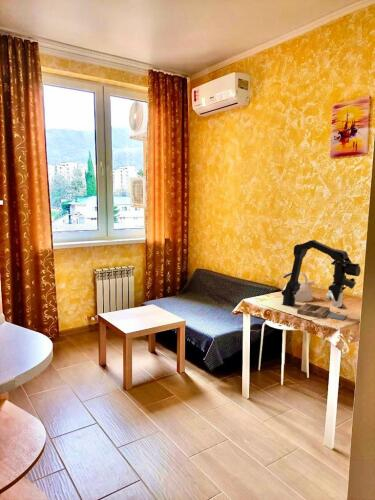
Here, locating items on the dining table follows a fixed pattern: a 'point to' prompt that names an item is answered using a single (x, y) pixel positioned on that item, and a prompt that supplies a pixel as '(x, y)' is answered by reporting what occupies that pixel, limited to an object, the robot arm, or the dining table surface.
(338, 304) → the steel nut block
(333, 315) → the charcoal mat
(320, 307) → the walnut rail plate
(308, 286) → the kettle
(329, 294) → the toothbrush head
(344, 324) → the dining table surface
